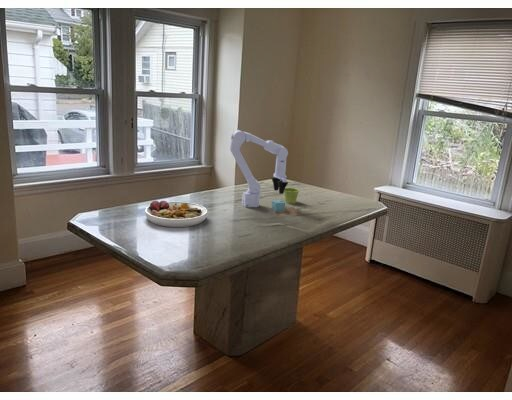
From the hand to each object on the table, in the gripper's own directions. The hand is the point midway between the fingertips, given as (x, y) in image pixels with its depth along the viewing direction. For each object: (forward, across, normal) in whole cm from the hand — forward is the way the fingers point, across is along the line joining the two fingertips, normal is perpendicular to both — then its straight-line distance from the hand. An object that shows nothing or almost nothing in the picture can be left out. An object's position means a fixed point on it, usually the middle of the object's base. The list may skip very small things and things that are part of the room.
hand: (278, 191), depth 238 cm
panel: (+9, -10, 0) cm, 14 cm away
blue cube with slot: (+8, -8, +3) cm, 12 cm away
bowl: (+10, -12, +59) cm, 61 cm away
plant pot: (+10, +7, -11) cm, 16 cm away
